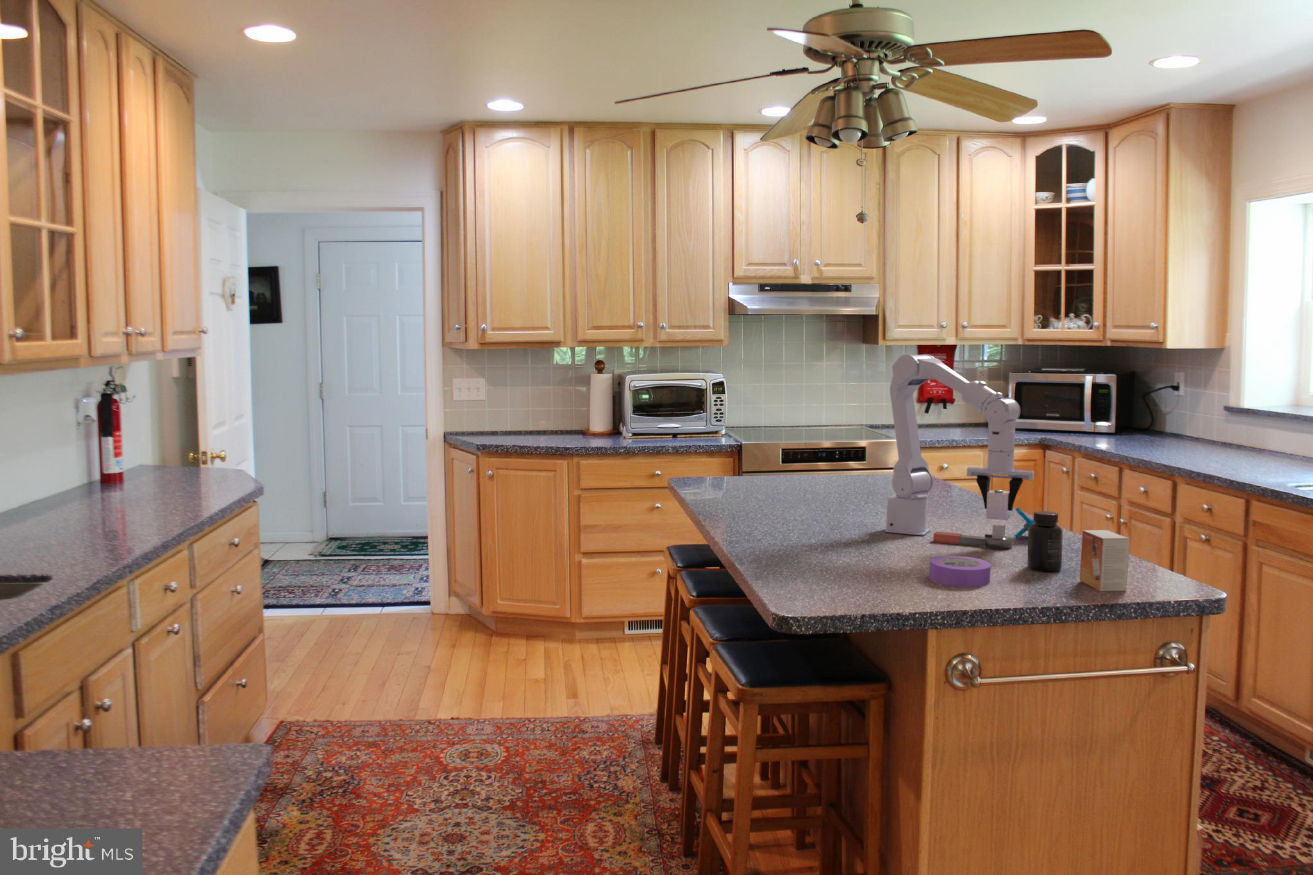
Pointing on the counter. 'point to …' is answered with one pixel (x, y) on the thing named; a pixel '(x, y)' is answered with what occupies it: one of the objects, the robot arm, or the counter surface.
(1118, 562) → the small box
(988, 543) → the ratchet
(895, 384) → the robot arm
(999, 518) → the socket
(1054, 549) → the supplement bottle
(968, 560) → the masking tape
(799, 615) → the counter surface
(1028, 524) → the gear
